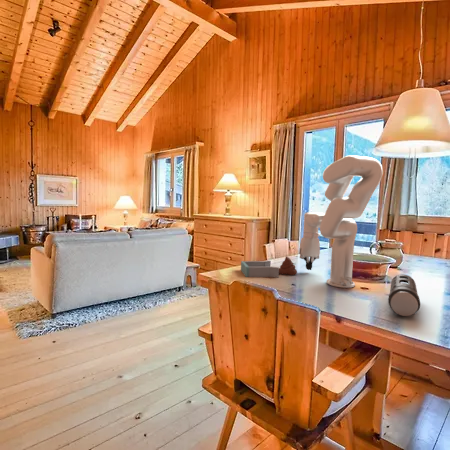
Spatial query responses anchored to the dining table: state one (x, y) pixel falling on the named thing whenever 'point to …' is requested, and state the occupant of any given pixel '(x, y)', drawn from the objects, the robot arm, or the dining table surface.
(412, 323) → the dining table surface
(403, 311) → the muzzle brake
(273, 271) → the grey tray
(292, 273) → the poop emoji
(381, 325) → the dining table surface
